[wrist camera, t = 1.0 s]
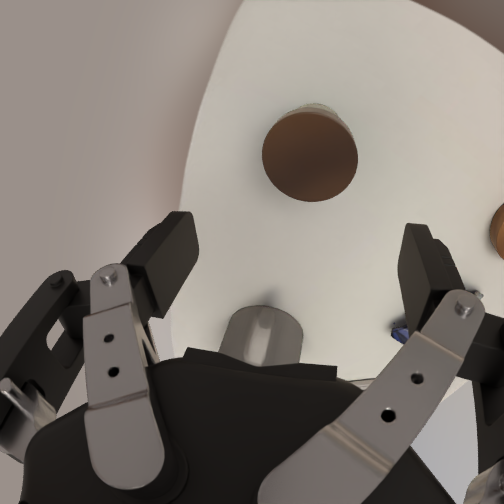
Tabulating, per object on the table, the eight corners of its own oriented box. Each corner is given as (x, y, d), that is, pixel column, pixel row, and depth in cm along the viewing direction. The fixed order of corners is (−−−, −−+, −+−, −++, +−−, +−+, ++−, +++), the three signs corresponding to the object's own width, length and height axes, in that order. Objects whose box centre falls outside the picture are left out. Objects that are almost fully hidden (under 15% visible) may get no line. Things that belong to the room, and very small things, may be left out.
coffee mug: (287, 362, 44) (275, 422, 36) (222, 339, 44) (200, 398, 36) (327, 304, 36) (320, 376, 28) (246, 274, 36) (221, 343, 28)
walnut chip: (250, 134, 20) (243, 141, 19) (327, 91, 18) (327, 94, 16) (296, 203, 23) (293, 216, 21) (370, 168, 20) (374, 179, 18)
